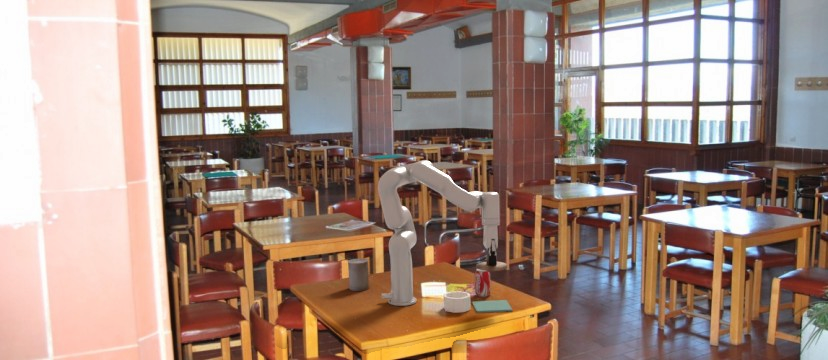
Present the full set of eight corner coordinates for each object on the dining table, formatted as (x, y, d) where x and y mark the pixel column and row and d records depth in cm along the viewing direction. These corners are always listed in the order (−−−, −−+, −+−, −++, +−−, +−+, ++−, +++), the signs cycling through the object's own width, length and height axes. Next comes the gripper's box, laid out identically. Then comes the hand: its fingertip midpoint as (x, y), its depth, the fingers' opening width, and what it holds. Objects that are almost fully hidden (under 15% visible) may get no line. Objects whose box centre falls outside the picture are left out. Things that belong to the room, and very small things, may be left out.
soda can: (489, 297, 311) (489, 271, 310) (474, 297, 312) (473, 271, 311) (491, 293, 318) (490, 267, 316) (476, 292, 319) (475, 267, 318)
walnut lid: (478, 271, 288) (478, 257, 287) (474, 264, 300) (474, 250, 300) (509, 270, 288) (509, 256, 288) (503, 263, 301) (503, 249, 300)
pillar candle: (371, 286, 336) (370, 255, 334) (366, 291, 326) (365, 260, 325) (352, 285, 338) (350, 255, 336) (346, 291, 328) (345, 260, 327)
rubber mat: (476, 312, 289) (476, 310, 289) (472, 303, 303) (472, 301, 303) (512, 311, 290) (512, 309, 290) (506, 301, 304) (506, 300, 304)
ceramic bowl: (445, 312, 290) (445, 299, 289) (443, 305, 301) (442, 292, 300) (471, 311, 290) (471, 298, 290) (468, 304, 301) (468, 290, 301)
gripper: (479, 218, 300) (479, 259, 302) (485, 225, 284) (485, 268, 286) (496, 217, 301) (496, 258, 303) (503, 224, 284) (503, 267, 286)
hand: (491, 263), depth 294 cm, fingers closed on walnut lid, 4 cm apart
